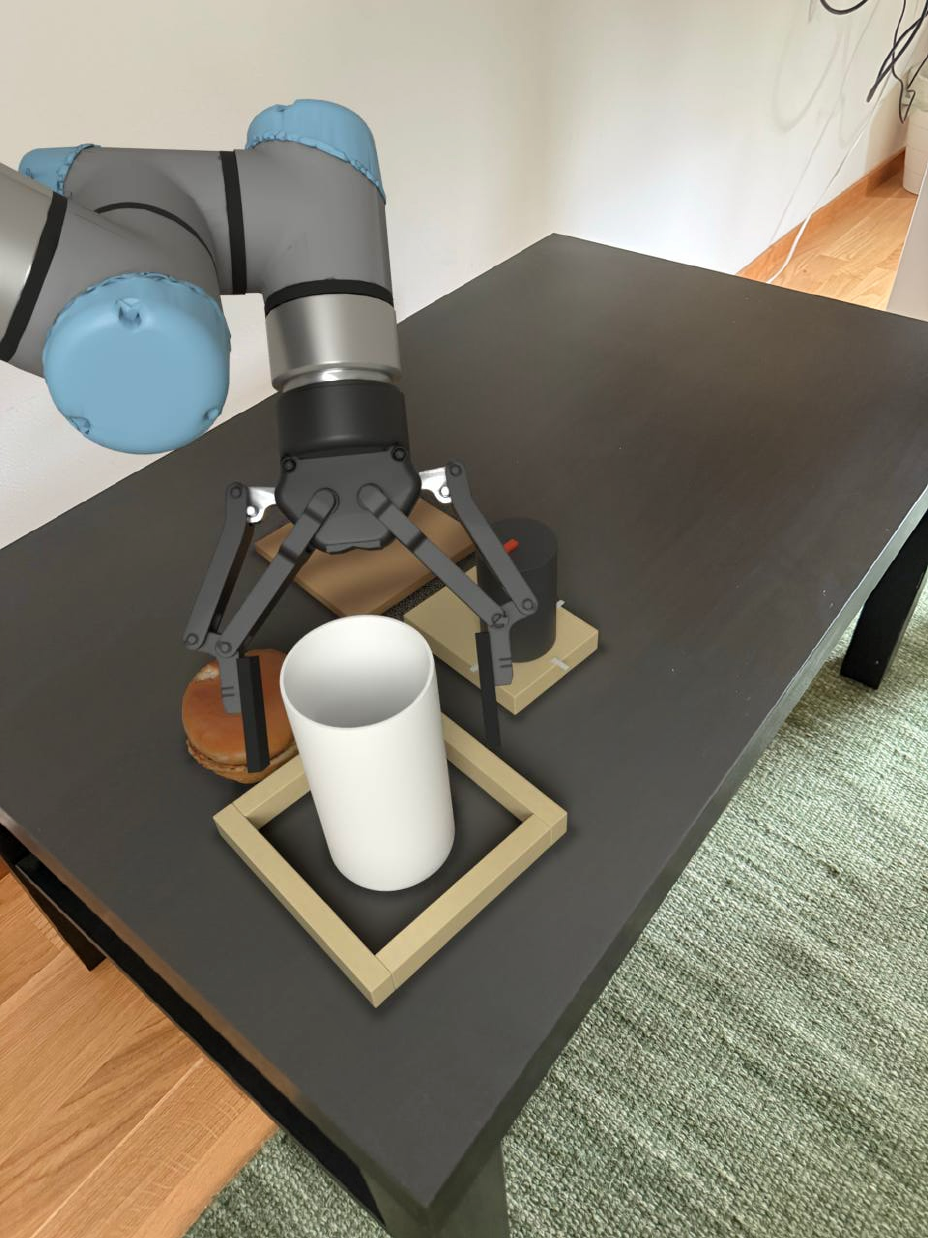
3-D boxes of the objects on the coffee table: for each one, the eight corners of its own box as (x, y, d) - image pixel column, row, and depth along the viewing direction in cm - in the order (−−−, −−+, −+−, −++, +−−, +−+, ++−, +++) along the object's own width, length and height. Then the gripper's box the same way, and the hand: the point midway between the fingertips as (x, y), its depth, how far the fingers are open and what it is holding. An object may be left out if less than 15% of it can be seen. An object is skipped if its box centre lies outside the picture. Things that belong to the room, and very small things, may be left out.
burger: (295, 795, 63) (281, 753, 59) (169, 776, 64) (149, 734, 61) (339, 685, 69) (329, 643, 66) (224, 671, 71) (208, 628, 68)
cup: (302, 850, 60) (246, 688, 48) (381, 761, 64) (347, 594, 53) (403, 915, 56) (368, 757, 45) (479, 816, 61) (465, 650, 49)
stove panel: (401, 635, 73) (398, 616, 71) (490, 573, 77) (489, 554, 76) (520, 726, 66) (519, 706, 64) (610, 651, 70) (611, 632, 69)
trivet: (256, 551, 81) (253, 543, 80) (379, 479, 87) (377, 470, 87) (356, 631, 73) (355, 622, 73) (483, 545, 80) (482, 536, 79)
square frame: (220, 835, 61) (211, 816, 59) (403, 698, 68) (400, 679, 67) (375, 1009, 52) (370, 992, 51) (567, 831, 59) (567, 812, 58)
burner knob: (516, 598, 72) (513, 503, 65) (571, 633, 69) (574, 537, 62) (465, 637, 69) (457, 542, 63) (520, 675, 66) (518, 579, 60)
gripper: (546, 386, 58) (581, 726, 58) (144, 426, 57) (180, 768, 57) (560, 351, 50) (601, 742, 50) (98, 397, 50) (139, 791, 50)
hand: (376, 757), depth 54 cm, fingers open, 13 cm apart
